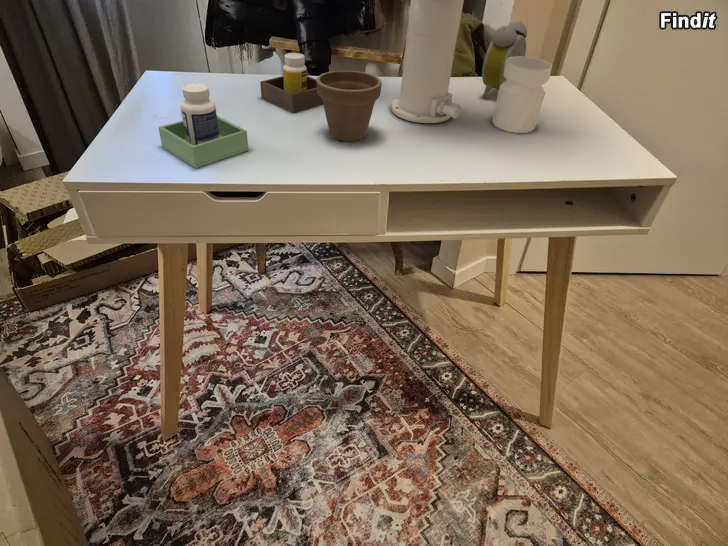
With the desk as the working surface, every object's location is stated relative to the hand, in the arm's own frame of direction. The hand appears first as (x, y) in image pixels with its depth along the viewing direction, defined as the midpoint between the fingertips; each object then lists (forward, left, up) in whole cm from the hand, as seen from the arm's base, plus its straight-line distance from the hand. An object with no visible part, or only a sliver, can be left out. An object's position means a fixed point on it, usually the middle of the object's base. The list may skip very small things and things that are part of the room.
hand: (299, 5), depth 98 cm
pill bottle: (-11, +31, -17) cm, 37 cm away
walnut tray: (-3, +4, -17) cm, 18 cm away
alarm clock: (-29, -35, -17) cm, 48 cm away
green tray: (-11, +31, -17) cm, 37 cm away
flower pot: (-22, +8, -17) cm, 29 cm away
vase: (-40, -22, -17) cm, 49 cm away
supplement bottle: (-3, +4, -17) cm, 17 cm away
